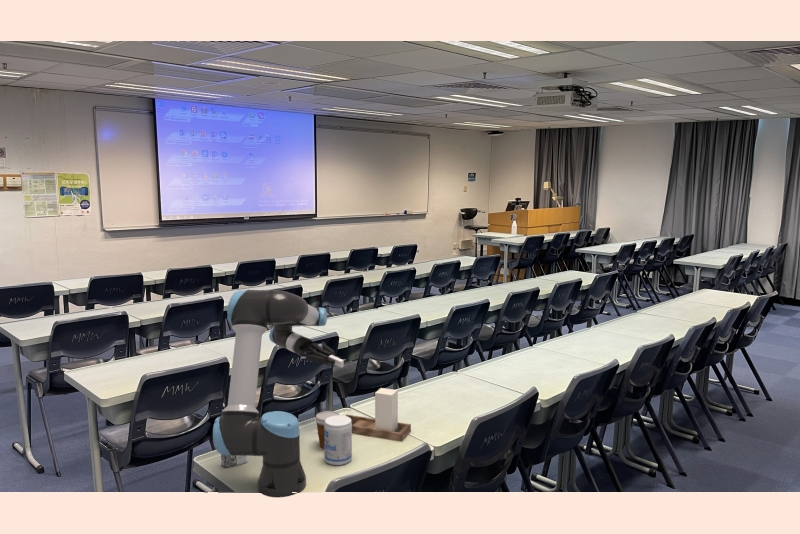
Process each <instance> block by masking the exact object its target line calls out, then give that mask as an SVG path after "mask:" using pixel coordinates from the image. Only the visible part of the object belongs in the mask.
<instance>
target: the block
mask: <svg viewBox="0 0 800 534" xmlns="http://www.w3.org/2000/svg"><path fill="white" fill-rule="evenodd" d="M398 392H399V391H398V389H393V388H392V389H391V388H385V387H383V388H382V387H380V388H378V390H377V391H375V392H374V417H375V418H374V419H375V429H380V430H386V431H392V432H393V431H394V430H395V429H396V428H397V427H398V422H399V417H398V416H399V413H398V412H399V407H398V406H399V405H398V404H399V403H398V402H399V401H398V399H399V396H398V394H399V393H398Z"/></svg>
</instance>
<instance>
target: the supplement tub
mask: <svg viewBox="0 0 800 534" xmlns="http://www.w3.org/2000/svg"><path fill="white" fill-rule="evenodd" d="M352 436H353V434H352V423H351V418H349V417H347V416H345V415H341V414H340V415H336V416H331V417H328V418H327V419H326V420H325V425H324V449H323V450H324V454H323V455H324V461H325V462H326V463H327V464H329V465H331V466H334V465H335V466H343V465H346V464H348V463H349V462H351V460H352V457H353V456H352V449H353V447H352V445H353V444H352V443H353V440H352V439H353V437H352Z"/></svg>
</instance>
